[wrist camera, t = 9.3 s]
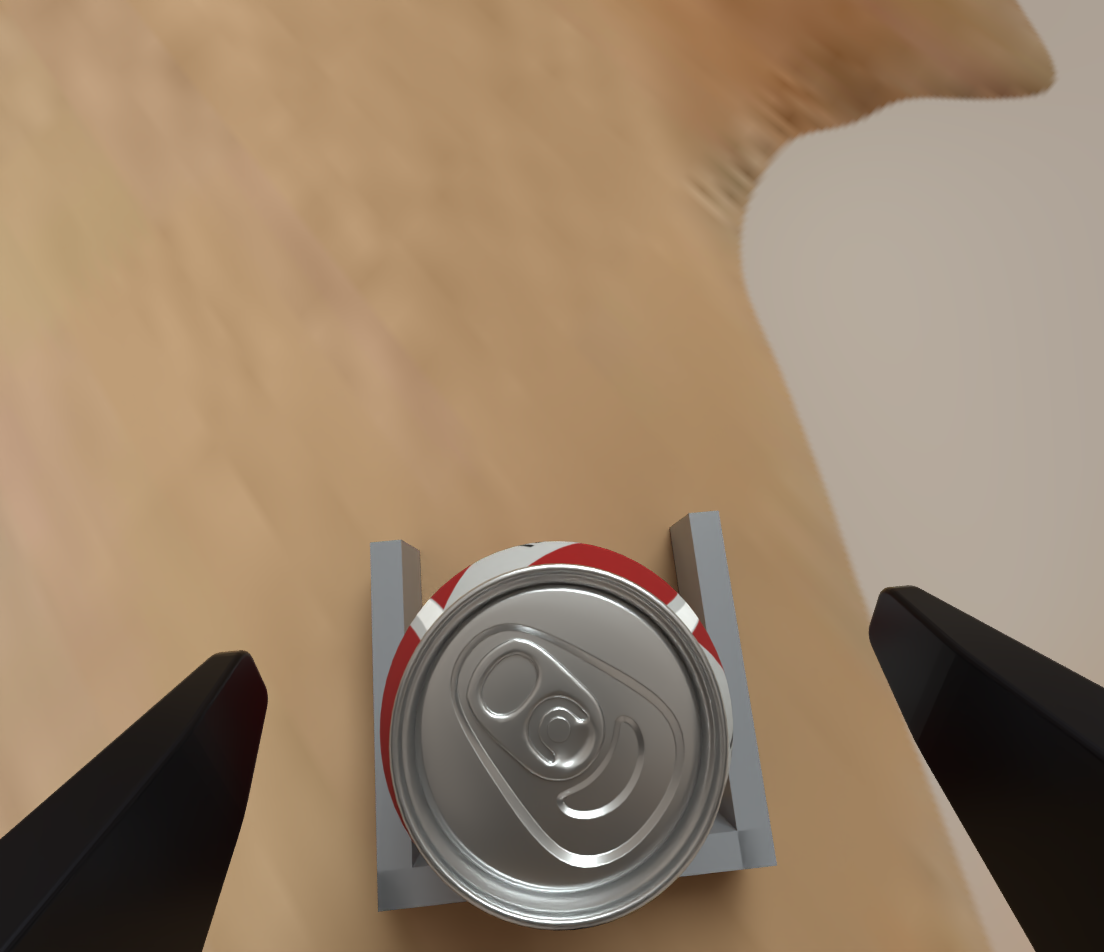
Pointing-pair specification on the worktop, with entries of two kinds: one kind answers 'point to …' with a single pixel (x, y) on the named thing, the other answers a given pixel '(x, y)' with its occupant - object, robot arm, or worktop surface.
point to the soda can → (557, 734)
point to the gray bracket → (708, 592)
